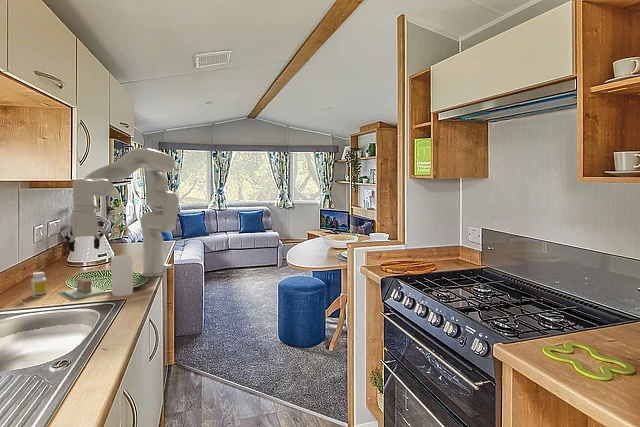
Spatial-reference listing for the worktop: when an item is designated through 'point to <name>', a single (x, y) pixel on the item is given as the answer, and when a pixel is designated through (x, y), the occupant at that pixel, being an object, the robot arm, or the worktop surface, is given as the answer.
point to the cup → (122, 275)
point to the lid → (83, 289)
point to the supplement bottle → (38, 285)
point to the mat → (78, 298)
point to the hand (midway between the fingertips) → (84, 249)
